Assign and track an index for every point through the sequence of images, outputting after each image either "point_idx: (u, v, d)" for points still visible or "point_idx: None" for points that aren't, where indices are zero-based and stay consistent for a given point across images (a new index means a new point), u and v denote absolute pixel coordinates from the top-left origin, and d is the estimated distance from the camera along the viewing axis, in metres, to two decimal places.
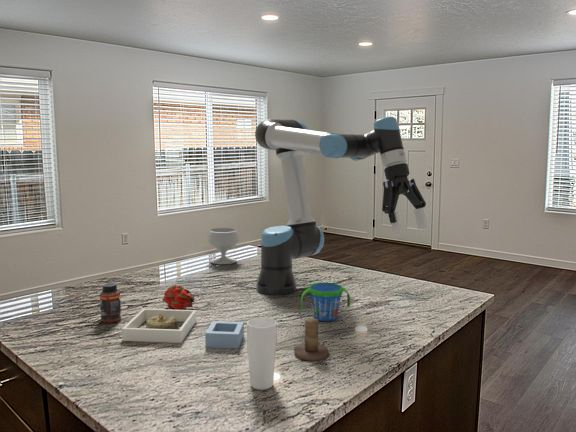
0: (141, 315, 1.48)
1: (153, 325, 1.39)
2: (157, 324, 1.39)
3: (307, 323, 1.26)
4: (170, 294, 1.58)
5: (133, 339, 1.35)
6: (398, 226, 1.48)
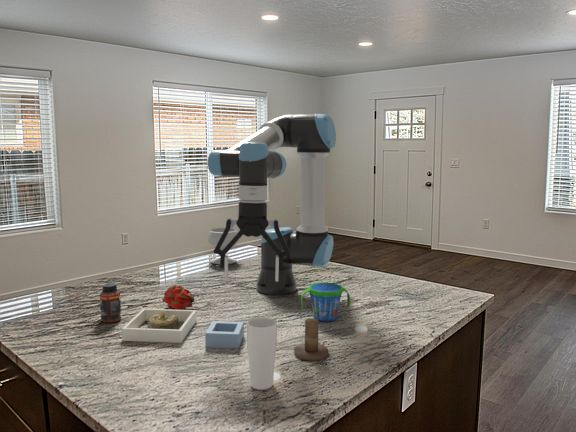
0: (141, 315, 1.48)
1: (155, 323, 1.41)
2: (159, 322, 1.41)
3: (307, 323, 1.26)
4: (170, 294, 1.58)
5: (133, 339, 1.35)
6: None
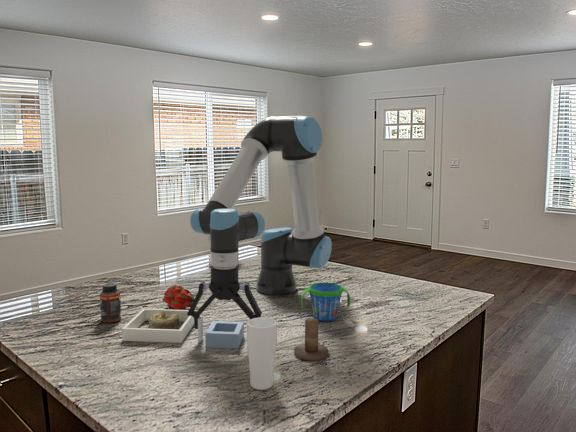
0: (141, 315, 1.48)
1: (156, 322, 1.41)
2: (160, 321, 1.42)
3: (307, 323, 1.26)
4: (170, 294, 1.58)
5: (133, 339, 1.35)
6: (198, 334, 1.35)
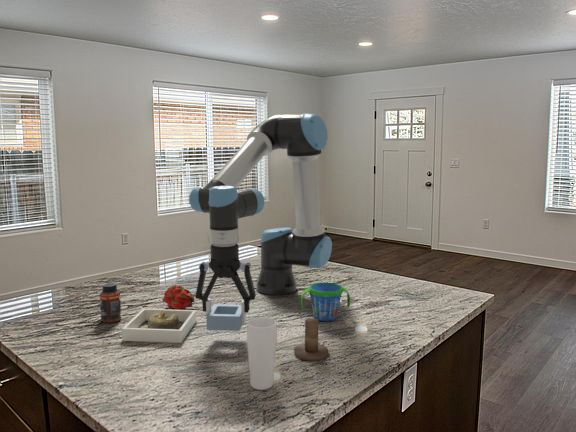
0: (141, 315, 1.48)
1: (155, 322, 1.42)
2: (159, 321, 1.42)
3: (307, 323, 1.26)
4: (170, 294, 1.58)
5: (133, 339, 1.35)
6: None
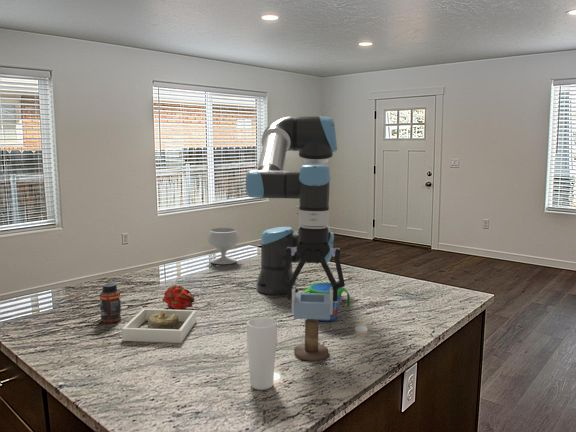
0: (141, 315, 1.48)
1: (155, 322, 1.42)
2: (159, 321, 1.42)
3: (307, 323, 1.26)
4: (170, 294, 1.58)
5: (133, 339, 1.35)
6: (292, 305, 1.26)
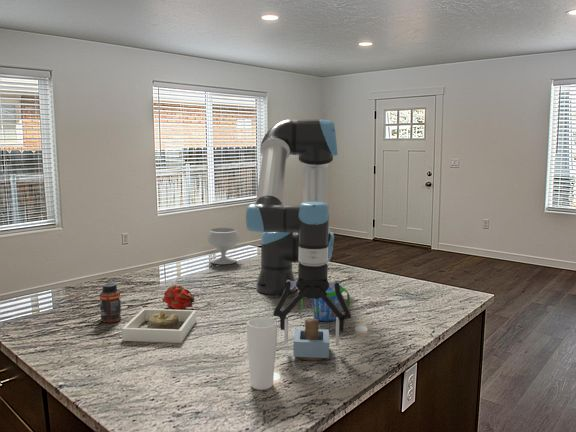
0: (141, 315, 1.48)
1: (155, 322, 1.42)
2: (158, 321, 1.42)
3: (307, 323, 1.26)
4: (170, 294, 1.58)
5: (133, 339, 1.35)
6: None
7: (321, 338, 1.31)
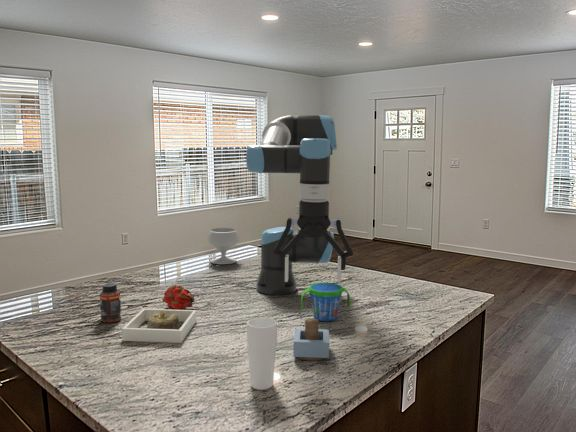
0: (141, 315, 1.48)
1: (155, 322, 1.42)
2: (159, 321, 1.42)
3: (307, 323, 1.26)
4: (170, 294, 1.58)
5: (133, 339, 1.35)
6: (285, 274, 1.26)
7: (321, 338, 1.31)
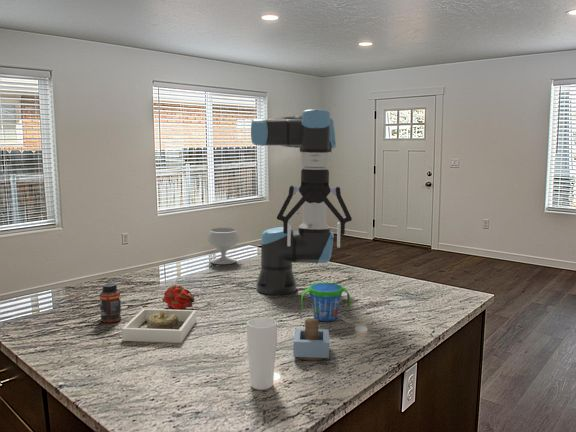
0: (141, 315, 1.48)
1: (154, 322, 1.42)
2: (158, 321, 1.42)
3: (307, 323, 1.26)
4: (170, 294, 1.58)
5: (133, 339, 1.35)
6: None
7: (321, 338, 1.31)
